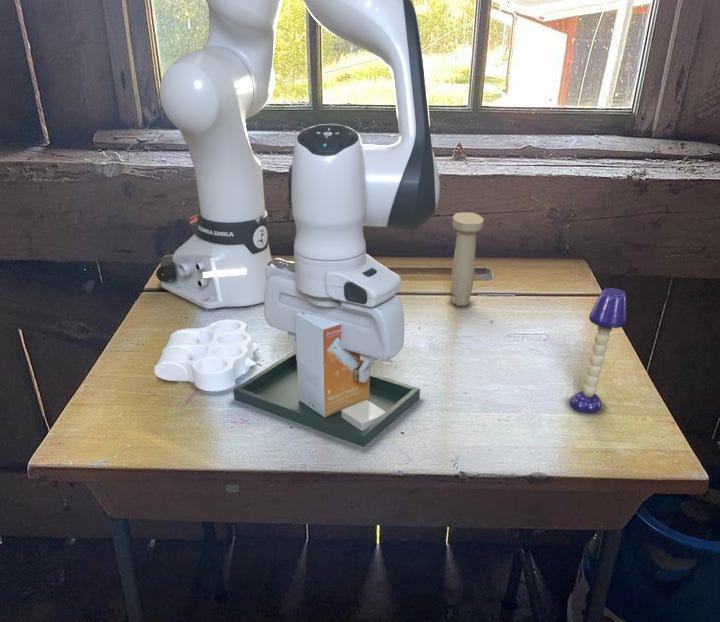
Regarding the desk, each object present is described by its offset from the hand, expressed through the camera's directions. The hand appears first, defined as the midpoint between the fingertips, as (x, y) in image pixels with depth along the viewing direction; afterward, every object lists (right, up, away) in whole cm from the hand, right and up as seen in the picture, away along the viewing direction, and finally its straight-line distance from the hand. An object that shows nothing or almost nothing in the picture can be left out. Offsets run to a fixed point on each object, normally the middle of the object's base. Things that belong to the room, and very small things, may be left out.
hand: (332, 370), depth 98 cm
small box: (0, -4, +3) cm, 5 cm away
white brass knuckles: (-19, +3, +12) cm, 23 cm away
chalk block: (+4, -7, -1) cm, 8 cm away
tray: (-1, -4, +4) cm, 5 cm away
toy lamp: (+36, -5, +3) cm, 36 cm away
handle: (+22, +17, +32) cm, 42 cm away
